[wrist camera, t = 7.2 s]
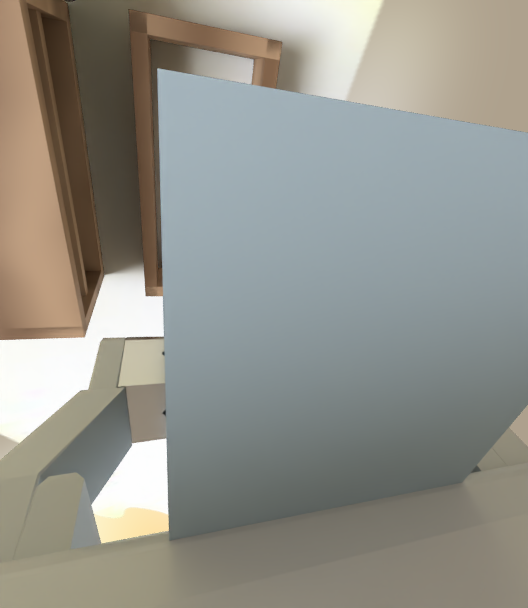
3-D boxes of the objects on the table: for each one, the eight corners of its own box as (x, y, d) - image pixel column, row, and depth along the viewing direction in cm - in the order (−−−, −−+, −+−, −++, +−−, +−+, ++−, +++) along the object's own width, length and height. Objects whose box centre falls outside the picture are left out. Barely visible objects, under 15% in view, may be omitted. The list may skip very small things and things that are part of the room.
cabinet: (272, 15, 19) (318, -11, 13) (240, 277, 29) (259, 331, 23) (-119, -77, 14) (-323, -182, 8) (-2, 274, 24) (-60, 341, 18)
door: (355, 106, 9) (799, 179, 3) (281, 401, 16) (361, 630, 9) (165, 74, 8) (158, 68, 1) (170, 412, 14) (173, 690, 8)
